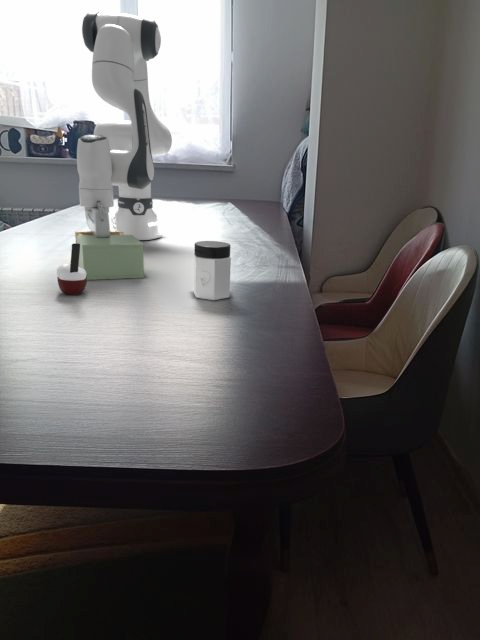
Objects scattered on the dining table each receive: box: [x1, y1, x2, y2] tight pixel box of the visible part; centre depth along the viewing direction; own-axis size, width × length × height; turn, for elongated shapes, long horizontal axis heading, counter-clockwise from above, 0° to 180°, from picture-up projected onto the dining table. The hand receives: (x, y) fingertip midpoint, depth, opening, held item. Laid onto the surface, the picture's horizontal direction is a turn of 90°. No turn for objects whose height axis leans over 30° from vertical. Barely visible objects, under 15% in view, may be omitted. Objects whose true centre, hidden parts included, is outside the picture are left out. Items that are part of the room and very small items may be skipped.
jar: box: [193, 240, 232, 301], centre depth 118 cm, size 9×8×12 cm
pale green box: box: [76, 235, 145, 281], centre depth 134 cm, size 15×15×9 cm
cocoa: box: [56, 243, 88, 296], centre depth 113 cm, size 10×6×12 cm, turn 12°
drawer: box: [74, 230, 124, 244], centre depth 146 cm, size 18×13×7 cm
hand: (99, 250), depth 144 cm, fingers open, 5 cm apart
